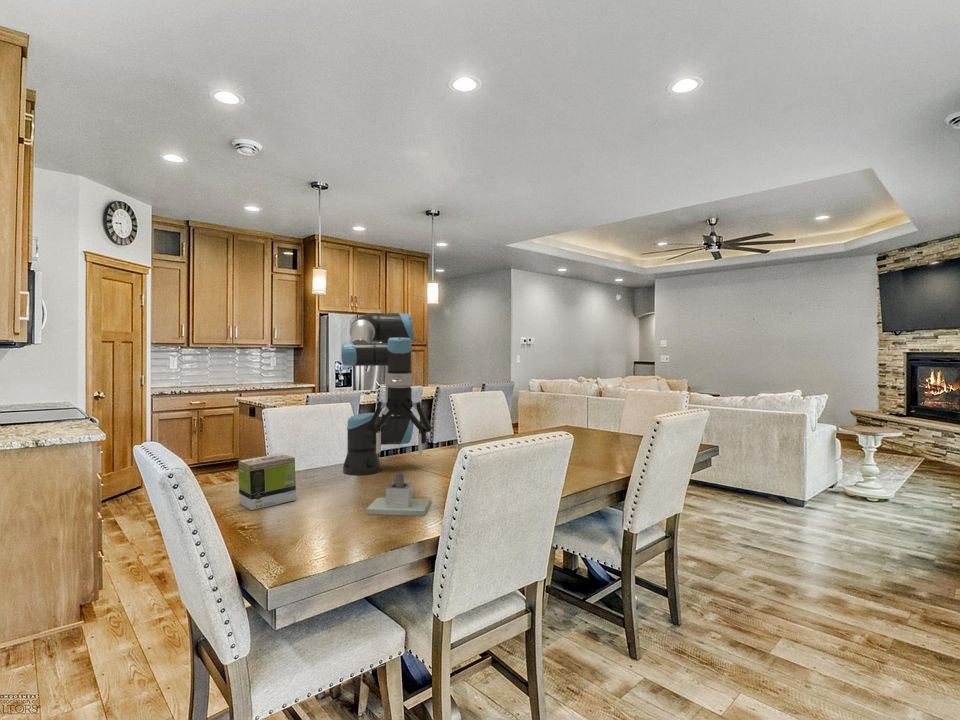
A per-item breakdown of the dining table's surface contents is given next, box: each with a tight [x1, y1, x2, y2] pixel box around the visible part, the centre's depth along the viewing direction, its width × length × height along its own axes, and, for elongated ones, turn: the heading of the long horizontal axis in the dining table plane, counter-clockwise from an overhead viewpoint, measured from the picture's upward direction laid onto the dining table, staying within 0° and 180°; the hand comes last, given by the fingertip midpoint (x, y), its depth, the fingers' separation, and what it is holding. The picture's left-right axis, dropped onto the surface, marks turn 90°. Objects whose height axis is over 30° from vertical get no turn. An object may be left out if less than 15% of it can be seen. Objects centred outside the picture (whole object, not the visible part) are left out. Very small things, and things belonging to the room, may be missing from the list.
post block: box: [365, 471, 432, 517], centre depth 165 cm, size 12×18×12 cm, turn 85°
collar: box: [385, 481, 414, 508], centre depth 165 cm, size 7×7×6 cm
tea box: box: [238, 452, 297, 511], centre depth 171 cm, size 15×10×15 cm
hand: (399, 453), depth 165 cm, fingers open, 13 cm apart
